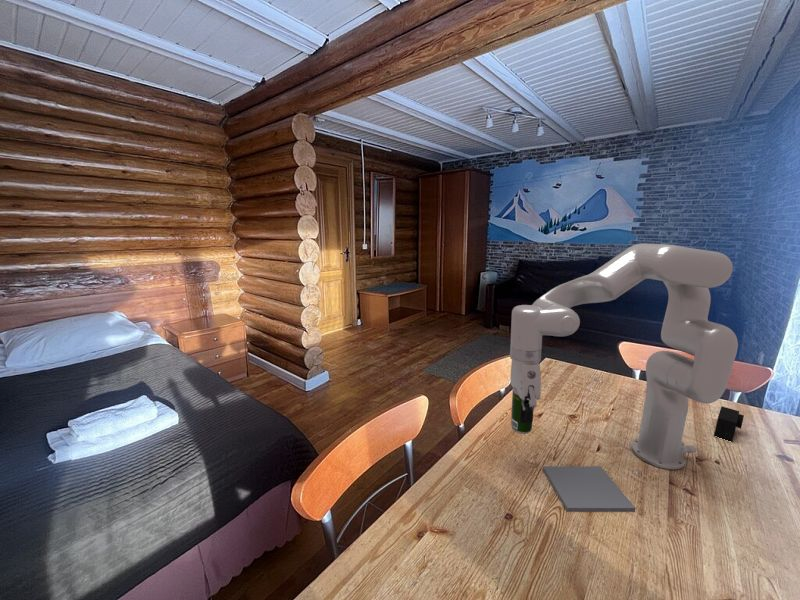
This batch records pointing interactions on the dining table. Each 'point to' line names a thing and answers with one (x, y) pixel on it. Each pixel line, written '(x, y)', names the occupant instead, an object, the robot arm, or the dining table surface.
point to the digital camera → (728, 423)
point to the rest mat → (587, 489)
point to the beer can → (518, 415)
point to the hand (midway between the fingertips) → (521, 415)
